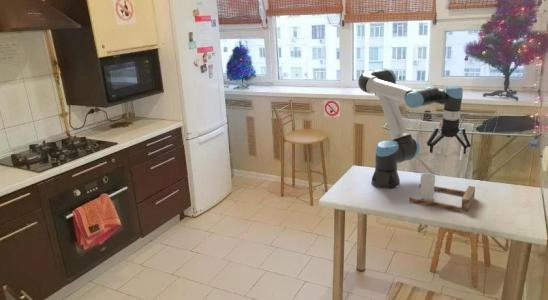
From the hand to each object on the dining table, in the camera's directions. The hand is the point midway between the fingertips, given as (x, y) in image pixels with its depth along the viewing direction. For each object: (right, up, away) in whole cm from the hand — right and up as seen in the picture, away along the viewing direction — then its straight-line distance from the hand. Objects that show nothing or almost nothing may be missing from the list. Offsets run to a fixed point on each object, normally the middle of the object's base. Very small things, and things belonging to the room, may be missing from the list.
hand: (446, 159), depth 212 cm
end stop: (+8, -22, -6) cm, 24 cm away
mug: (-8, -19, +5) cm, 21 cm away
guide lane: (-3, -20, +1) cm, 20 cm away
